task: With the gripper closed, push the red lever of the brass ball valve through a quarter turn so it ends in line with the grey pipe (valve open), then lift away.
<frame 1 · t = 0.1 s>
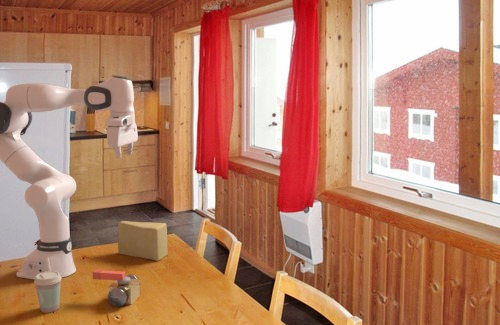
hand: (124, 156, 189), 48 cm above the table, tool pointing down, fingers open, 8 cm apart
lever: (112, 276, 175), point 8 cm above the table, hinge at 0.0°
cheese: (140, 256, 221), on the table
coffee cup: (50, 309, 169), on the table
valve: (124, 299, 176), on the table
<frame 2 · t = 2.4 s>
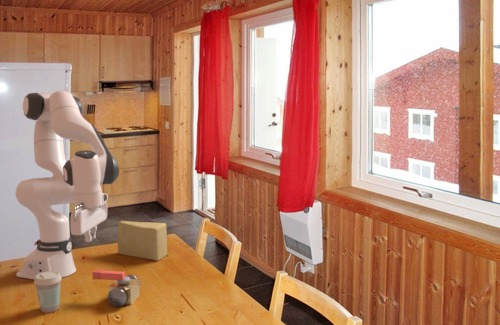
hand: (90, 240, 168), 23 cm above the table, tool pointing down, fingers closed
nothing on the table moved.
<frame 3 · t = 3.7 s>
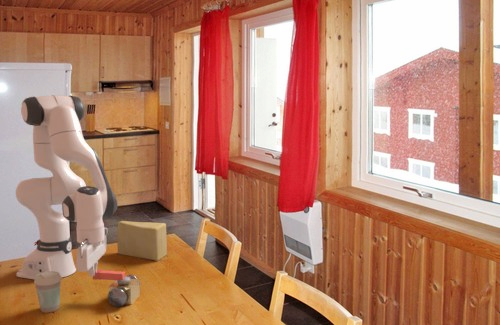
hand: (92, 274, 169), 11 cm above the table, tool pointing down, fingers closed
nothing on the table moved.
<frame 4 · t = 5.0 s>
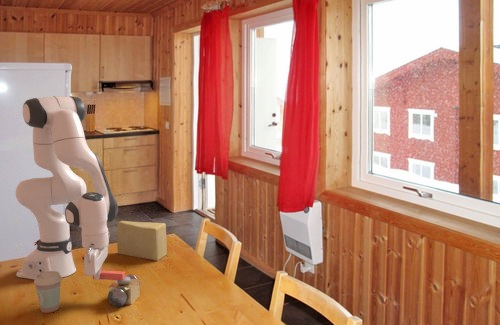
hand: (97, 278, 174), 8 cm above the table, tool pointing down, fingers closed
lever: (112, 276, 175), point 8 cm above the table, hinge at 0.9°, touching gripper
everything else where it was.
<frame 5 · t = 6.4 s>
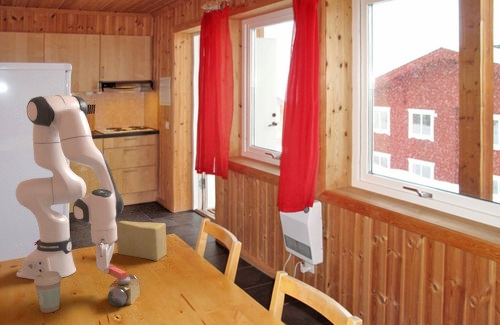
hand: (106, 272, 179), 8 cm above the table, tool pointing down, fingers closed, pressing on lever
lever: (117, 274, 178), point 8 cm above the table, hinge at 35.9°, touching gripper
everything else where it was.
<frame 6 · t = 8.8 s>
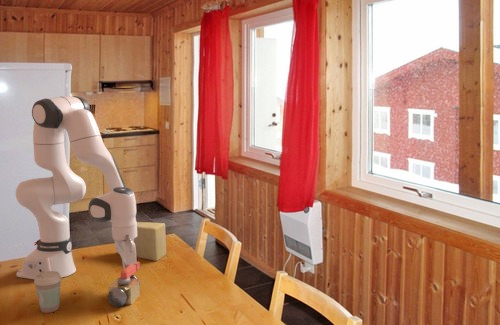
hand: (126, 268, 183), 8 cm above the table, tool pointing down, fingers closed
lever: (129, 272, 179), point 8 cm above the table, hinge at 91.9°, touching gripper
everything else where it was.
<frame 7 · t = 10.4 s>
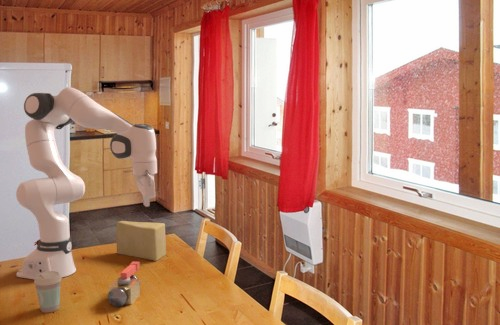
hand: (146, 205, 185), 30 cm above the table, tool pointing down, fingers closed
lever: (129, 272, 179), point 8 cm above the table, hinge at 91.9°
everything else where it was.
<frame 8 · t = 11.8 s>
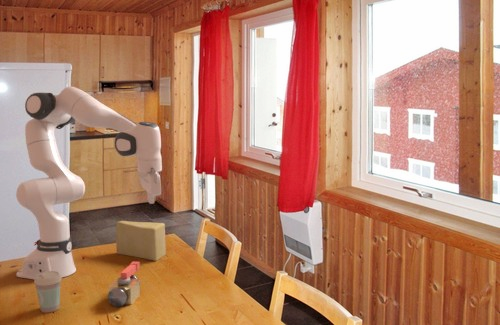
hand: (151, 202, 186), 31 cm above the table, tool pointing down, fingers closed
nothing on the table moved.
at the end: lever at +92° (first picture: +0°); lever touching nothing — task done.
